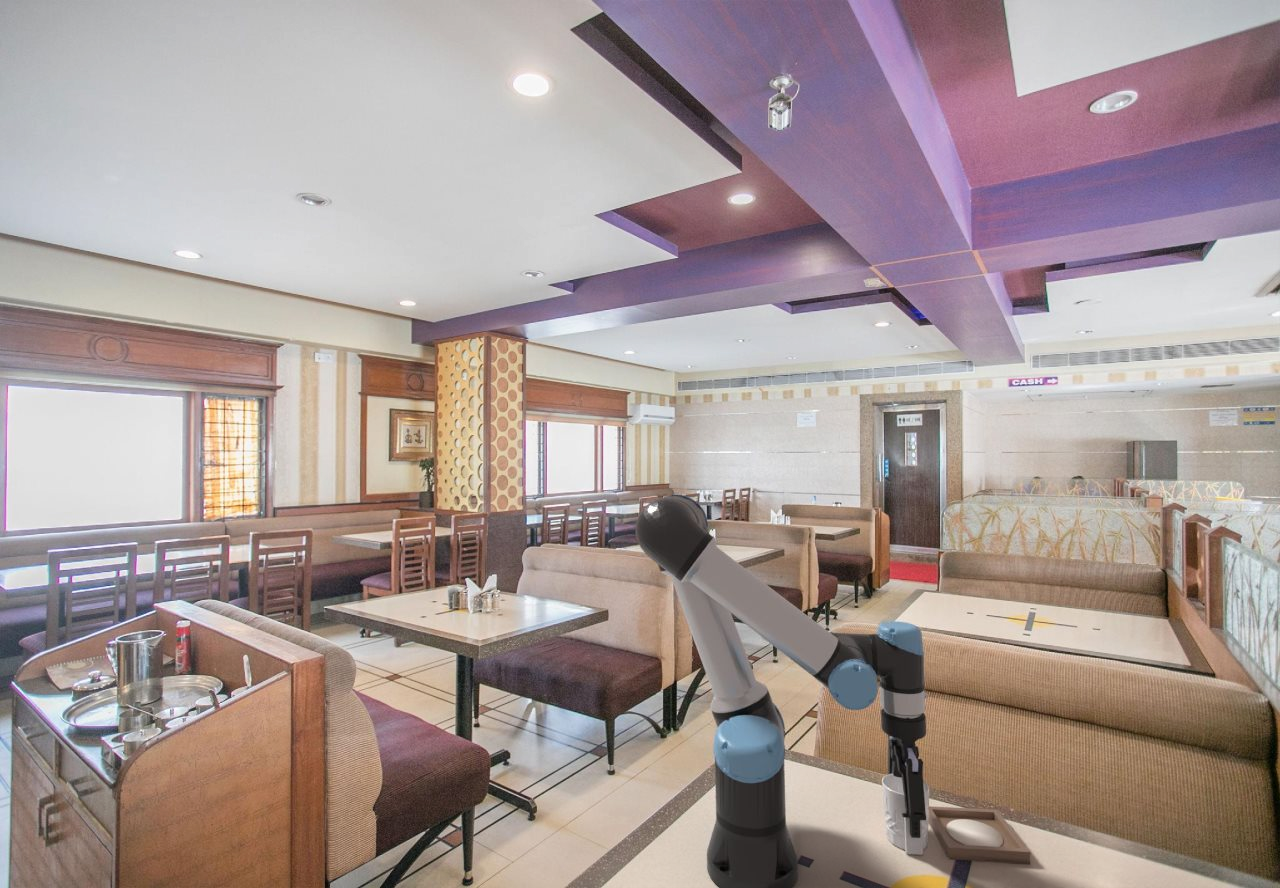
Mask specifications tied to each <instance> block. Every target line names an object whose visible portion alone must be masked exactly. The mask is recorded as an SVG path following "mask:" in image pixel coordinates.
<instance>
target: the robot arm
mask: <svg viewBox="0 0 1280 888" xmlns="http://www.w3.org/2000/svg"><path fill="white" fill-rule="evenodd" d="M635 523H636V524H635V537H636V540H637V543H638V546H639V547H640V549H641V551H643V552H644V554H645V555H646V556H647V557H649V558H650V559H651V560H652V561H654V562H655V563H656V564H657V565H658V568H659V571H660V573H661V574H662V575H665V576H666V577H669V578H670V579H671V582H672V584H673V587H674V589H675V593H676V594H677V598H678V601H679V603H680V606H681V608H682V611H683V614H684V617H685V620H686V622H687V625H688V627H689V630H690V631H689V632H690V633H691V636H692V638H693V642H694V644H695V647H696V650H697V652H698V655H699V658H700V661H701V663H702V666H703V669H704V672H705V674H706V677H707V680H708V683H709V685H710V687H711V690H712V693H713V698H712V701H711V703H710V705H709V708H710V711H711V713H712V716H713V719H714V722H715V724H716V727H717V729H716V730H715V734H714V741H713V745H712V746H713V747H712V748H713V749H712V752H713V756H714V767H715V768H714V771H715V773H714V775H715V776H714V777H715V779H714V780H715V817H716V819H715V823H714V827H713V830H712V833H711V836H710V839H709V843H708V846H707V852H706V868H707V873H708V875H709V877H710V879H711V880H712V881H713V883H714V884H715V885H717V886H718V887H719V888H793V887H794V886H795V885H796V884H797V881H798V878H799V866H798V865H799V862H798V856H797V853H796V850H795V847H794V844H793V841H792V839H791V836H790V833H789V829H788V826H787V820H786V818H787V817H786V811H787V810H786V783H785V782H786V780H785V778H786V776H785V775H786V773H785V772H786V771H785V757H786V746H785V739H786V731H785V730H786V727H785V721H784V718H783V716H782V713H781V712H780V710H779V708H778V707H777V705H776V704H775V703H774V702H773V699H772V697H771V694H770V692H769V688H768V687H767V685H766V684H765V683H762V682H761V681H759V680H757V679H756V676H755V674H754V672H753V671H754V670H753V668H752V666H751V664H750V661H749V658H748V656H747V652H746V650H745V647H744V644H743V642H742V640H741V637H740V634H739V631H738V628H737V626H736V624H735V623H736V622H735V621H734V619H733V616H735V617H736V618H738V619H739V620H740V621H741V622H742V623H743V624H744V625H746V626H747V627H749V628H750V629H751V630H753V631H754V632H755V633H756V634H758V635H759V636H760V637H761V638H763V639H764V640H765V641H767V642H768V643H770V645H772V646H773V647H774V648H775V649H777V650H779V651H780V652H781V653H782V654H784V655H785V656H786V657H788V658H789V659H790V660H791V661H793V662H794V663H795V664H797V665H798V666H799V667H800V668H801V669H803V670H804V671H806V672H807V673H808V674H809V675H810V676H811V677H813V678H815V679H816V680H817V681H818V682H819V683H821V684H822V685H823V686H824V687H826V688H827V689H828V691H829V694H830V695H831V696H832V698H833V699H834V700H835V702H836V703H837V704H839V705H840V706H841V707H843V708H845V709H847V710H852V711H861V710H865V709H866V708H869V707H870V706H871V705H872V704H873V703H874V702H875V700H876V698H877V696H878V691H879V701H880V702H879V703H880V707H881V710H880V722H881V723H880V725H881V730H882V732H884V733H885V735H887V740H888V741H887V743H888V744H887V745H888V746H887V747H888V748H887V750H888V753H887V775H888V774H893V776H895V777H902V783H903V791H904V798H905V807H906V813H902V817H904V824H905V849H904V850H905V853H906V855H919V856H922V855H924V849H923V839H922V820H926V811H925V798H924V785H923V781H924V775H923V773H924V772H923V770H924V769H923V768H924V761H923V759H922V758H919V757H920V751H919V746H918V745H917V746H916V741H918V740H921V739H924V738H925V736H926V735H927V721H926V720H927V716H926V714H925V712H926V701H925V699H926V698H928V696H929V695H928V693H927V692H926V691H925V665H924V664H925V662H924V661H925V659H924V658H925V657H924V656H925V652H924V644H923V633H922V631H921V629H920V628H919V627H918V626H917V625H915V624H912V623H909V622H904V621H897V620H895V621H883V622H881V623H880V624H878V627H877V631H876V633H871V634H870V633H869V634H868V633H847V632H845V633H843V632H833V631H828V630H827V629H826V628H825V627H823V626H821V624H819V623H818V622H816V621H815V620H813V618H811V617H810V616H808V615H807V614H806V613H804V612H803V610H801V609H800V608H798V607H797V606H796V605H794V604H792V603H791V602H790V601H788V600H787V599H786V598H785V597H784V596H782V595H781V594H780V593H778V592H777V591H776V590H775V589H773V588H772V587H770V586H769V585H768V584H767V583H765V582H764V581H762V580H761V579H760V578H759V577H757V576H756V575H754V574H753V573H752V572H750V571H749V570H748V569H747V568H745V567H744V566H743V565H741V564H740V563H739V562H737V561H736V560H735V559H733V558H732V557H731V556H730V555H728V554H727V553H725V552H724V551H723V550H722V549H720V548H719V547H718V546H717V542H716V538H715V537H714V536H712V534H710V531H709V530H708V526H709V525H708V524H709V522H708V517H707V514H706V511H705V510H704V508H703V507H702V506H701V505H700V504H699V503H698V502H697V501H696V500H695V499H693V498H692V497H689V496H687V495H684V494H676V493H675V494H670V495H665V496H664V497H661V498H657V499H655V500H653V501H651V502H650V503H648V504H647V505H645V506H644V508H642V510H641V511H640V512H639V514H638V517H637V519H636V522H635ZM878 678H879V683H878Z"/></svg>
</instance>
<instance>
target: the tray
mask: <svg viewBox="0 0 1280 888" xmlns="http://www.w3.org/2000/svg"><path fill="white" fill-rule="evenodd" d="M928 822H929V826H930V828H931V831H933V834H934V835H935V837H936V839H937V840H938V843H939V844H940V846H941V848H942V850H943V851H944V853H945V855H946V857H947V859H948V860H953V861H954V860H955V861H956V860H957V861H968V862H969V861H970V862H972V861H974V862H986V863H987V862H989V863H1003V864H1004V863H1005V864H1006V863H1007V864H1018V865H1019V864H1021V865H1022V864H1023V865H1031V851H1030V850H1029V849H1028V847H1027V846H1026V845H1025V844H1024V843H1023V841H1022V840H1021V838H1020V837H1019V836H1018V835H1017V833H1016V832H1015V831H1014V830H1013V829H1012V827H1011V825H1010V824H1009V823H1008V822H1007V820H1006V819H1005V818H1004V817H1003V815H1002V813H1000V811H999V810H998V809H990V808H969V807H968V808H967V807H948V806H930V805H929V820H928Z"/></svg>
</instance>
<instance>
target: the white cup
mask: <svg viewBox="0 0 1280 888" xmlns="http://www.w3.org/2000/svg"><path fill="white" fill-rule="evenodd" d="M923 785H924V798H925V811H926V820H922V839H923V850H924V849H926V848H927V846H928V843H929V842H928V841H929V837H928V836H929V835H928V834H929V826H930V825H929V822H928V820H929V806H930V786H929V785H928V783H927V782H926V781H925V780H923ZM881 786H882V787H881V788H882V800H883V810H884V812H883V813H884V821H885V826H886V836H887V839H888V841H889V842H890V843H891V844H892V845H893V846H895V847H897V848H899V849H901V850H905V824H904V817H902V813H906V807H905V798H904V791H903V783H902V777H895V776H893V774H888V773H887V774H885V775H884V776H883V777H882V779H881Z"/></svg>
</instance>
